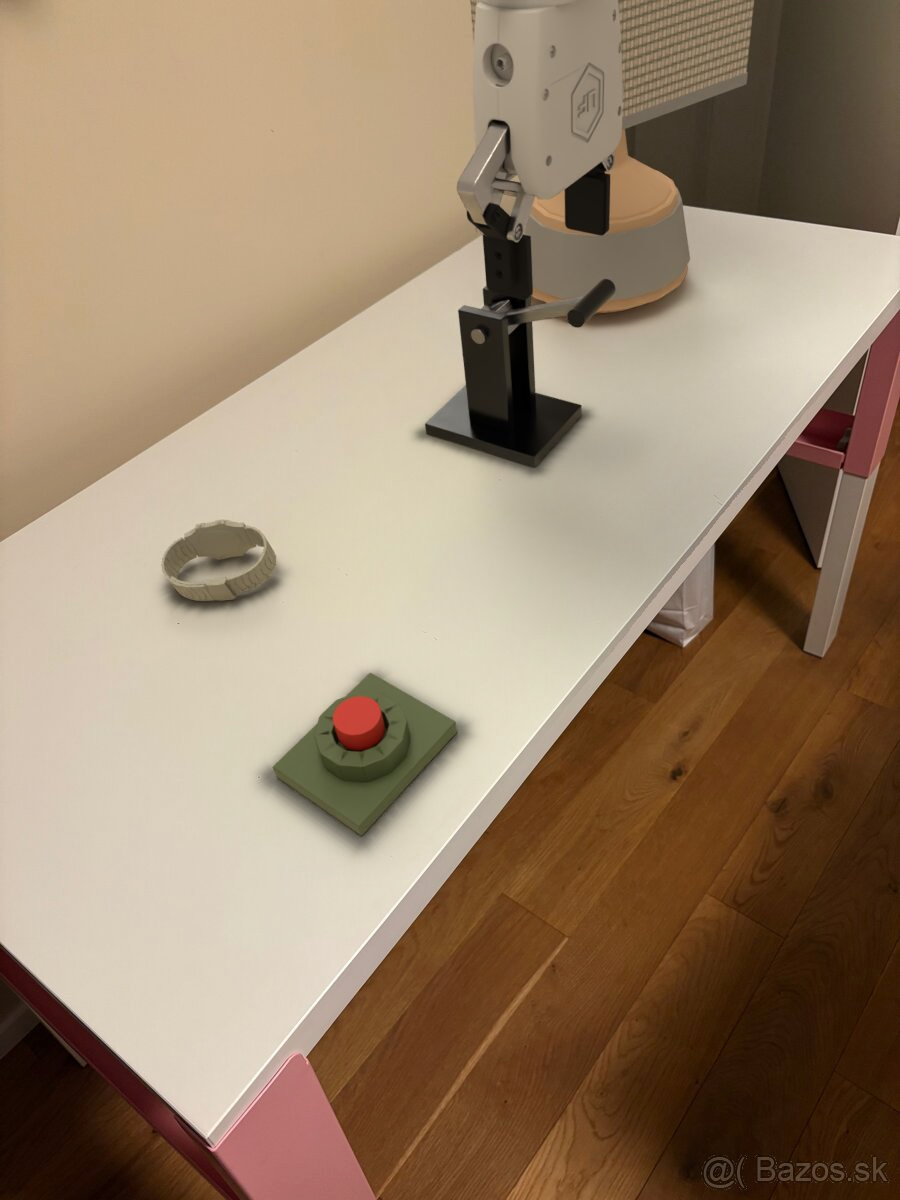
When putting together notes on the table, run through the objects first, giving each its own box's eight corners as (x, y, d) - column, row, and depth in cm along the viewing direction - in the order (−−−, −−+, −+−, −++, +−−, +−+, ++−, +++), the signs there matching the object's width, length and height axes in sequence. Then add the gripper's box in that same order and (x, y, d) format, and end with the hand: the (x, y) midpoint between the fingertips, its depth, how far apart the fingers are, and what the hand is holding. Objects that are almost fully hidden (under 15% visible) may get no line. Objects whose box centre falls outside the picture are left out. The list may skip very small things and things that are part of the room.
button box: (372, 682, 70) (366, 655, 68) (457, 731, 66) (453, 705, 64) (275, 776, 65) (265, 751, 63) (361, 836, 61) (353, 811, 59)
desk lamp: (479, 280, 112) (447, -101, 86) (606, 228, 118) (612, -142, 92) (596, 353, 98) (599, -74, 72) (733, 290, 104) (782, -124, 78)
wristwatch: (282, 548, 81) (268, 503, 78) (276, 600, 77) (261, 555, 73) (177, 560, 82) (159, 515, 78) (165, 612, 77) (145, 568, 74)
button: (359, 704, 65) (355, 688, 64) (394, 726, 63) (390, 709, 62) (327, 736, 63) (322, 720, 62) (362, 758, 62) (358, 742, 60)
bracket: (581, 415, 91) (581, 290, 81) (534, 467, 86) (528, 341, 77) (476, 386, 96) (464, 266, 87) (426, 434, 91) (408, 312, 82)
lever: (619, 299, 78) (610, 272, 77) (588, 331, 75) (578, 303, 74) (504, 320, 86) (495, 295, 85) (472, 349, 83) (461, 324, 82)
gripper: (513, 9, 45) (527, 335, 57) (679, -79, 54) (661, 218, 66) (389, -2, 48) (427, 308, 60) (565, -82, 57) (567, 200, 69)
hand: (549, 260), depth 63 cm, fingers open, 9 cm apart
